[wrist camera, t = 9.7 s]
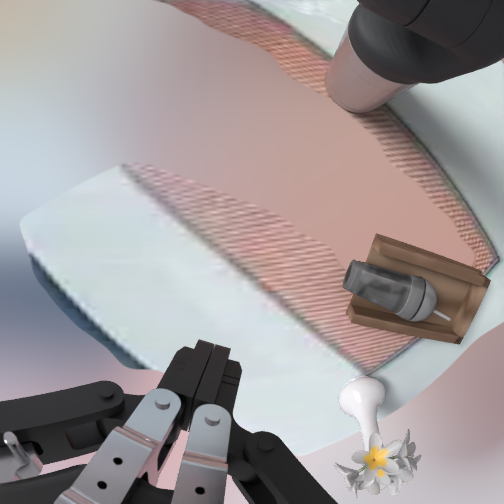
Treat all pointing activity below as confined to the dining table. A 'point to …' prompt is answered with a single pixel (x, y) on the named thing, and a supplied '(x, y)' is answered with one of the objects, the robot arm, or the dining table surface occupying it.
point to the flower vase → (374, 442)
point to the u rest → (442, 279)
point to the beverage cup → (392, 290)
